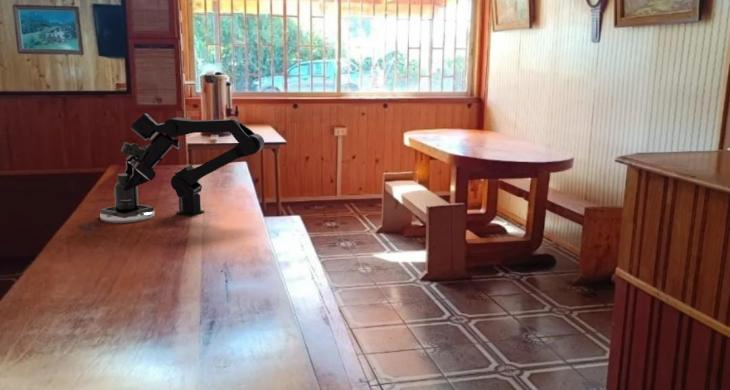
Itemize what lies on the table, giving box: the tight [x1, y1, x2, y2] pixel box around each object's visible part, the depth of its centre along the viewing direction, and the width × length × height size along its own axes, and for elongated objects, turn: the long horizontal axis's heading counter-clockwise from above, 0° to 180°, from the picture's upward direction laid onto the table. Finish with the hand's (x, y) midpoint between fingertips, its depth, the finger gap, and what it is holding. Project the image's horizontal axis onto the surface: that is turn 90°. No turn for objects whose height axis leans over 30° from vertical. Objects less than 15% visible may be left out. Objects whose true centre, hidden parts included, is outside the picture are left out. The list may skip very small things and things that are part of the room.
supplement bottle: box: [113, 172, 139, 213], centre depth 195 cm, size 7×7×12 cm
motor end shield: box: [99, 203, 155, 224], centre depth 197 cm, size 16×16×3 cm
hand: (121, 187), depth 194 cm, fingers open, 9 cm apart
